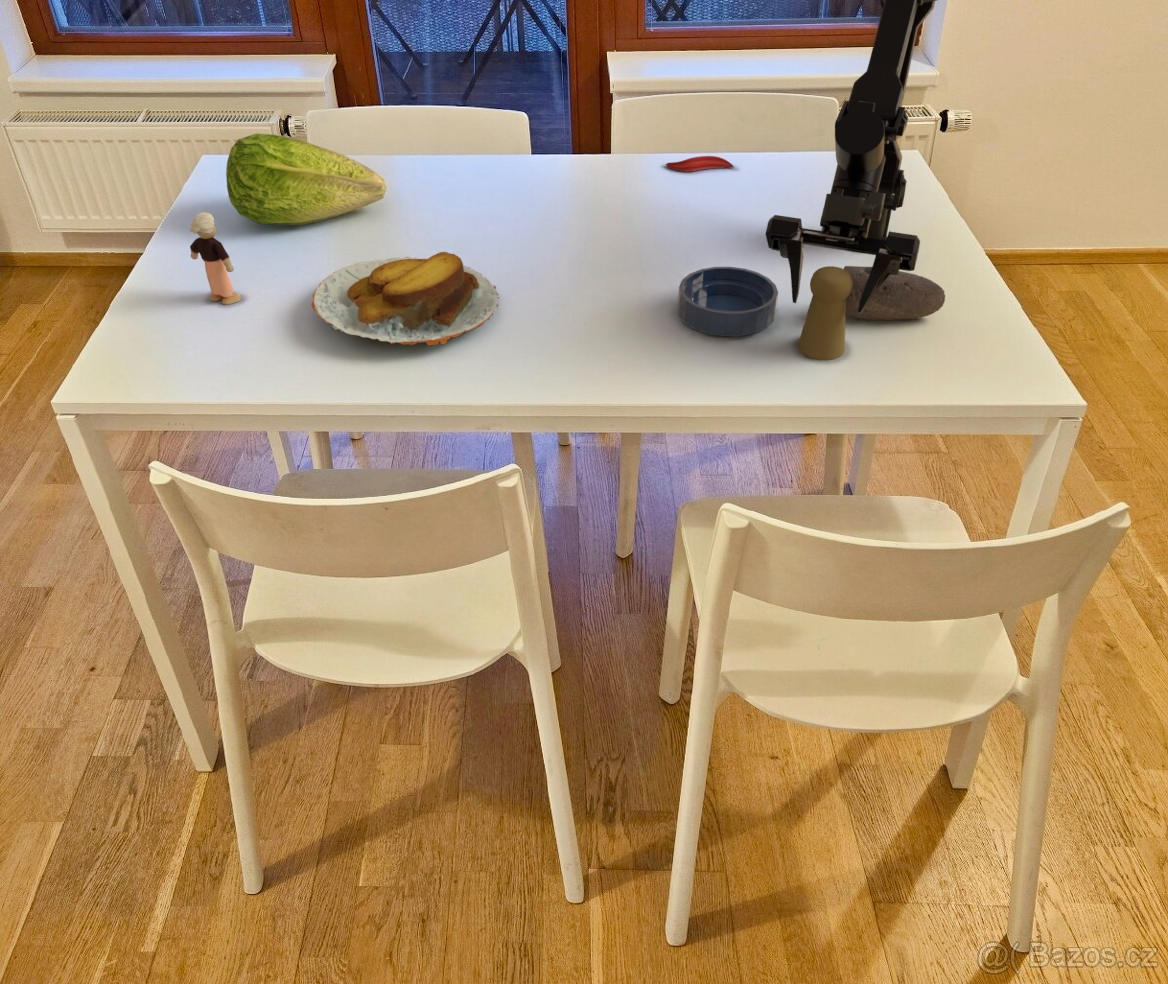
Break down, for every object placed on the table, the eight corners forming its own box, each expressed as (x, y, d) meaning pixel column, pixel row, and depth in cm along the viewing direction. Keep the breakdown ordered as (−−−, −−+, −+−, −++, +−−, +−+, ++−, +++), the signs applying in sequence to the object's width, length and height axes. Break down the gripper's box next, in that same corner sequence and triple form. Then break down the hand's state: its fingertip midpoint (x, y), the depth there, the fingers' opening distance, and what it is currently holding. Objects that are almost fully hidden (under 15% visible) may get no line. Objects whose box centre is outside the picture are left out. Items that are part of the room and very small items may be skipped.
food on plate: (336, 269, 153) (329, 228, 149) (503, 269, 153) (501, 227, 148) (298, 360, 133) (289, 315, 129) (491, 360, 133) (488, 315, 129)
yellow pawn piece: (844, 362, 132) (858, 284, 125) (796, 357, 133) (807, 280, 126) (844, 338, 136) (858, 262, 130) (798, 333, 137) (809, 258, 130)
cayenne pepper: (663, 169, 181) (664, 159, 180) (667, 159, 184) (667, 149, 183) (732, 174, 179) (733, 163, 178) (734, 164, 182) (735, 153, 181)
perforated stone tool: (937, 310, 142) (948, 264, 138) (943, 330, 138) (954, 283, 134) (827, 304, 144) (834, 258, 139) (829, 323, 140) (837, 276, 135)
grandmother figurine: (253, 295, 147) (233, 211, 139) (238, 308, 144) (217, 223, 136) (207, 287, 149) (185, 204, 141) (191, 299, 146) (168, 215, 138)
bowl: (747, 285, 148) (750, 260, 145) (791, 329, 138) (795, 303, 136) (663, 301, 145) (664, 275, 142) (701, 347, 135) (704, 320, 132)
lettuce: (384, 241, 162) (385, 151, 156) (222, 229, 158) (217, 137, 152) (387, 220, 175) (388, 136, 169) (238, 209, 171) (234, 122, 165)
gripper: (777, 152, 125) (747, 274, 124) (935, 172, 120) (905, 300, 119) (783, 189, 136) (755, 302, 135) (928, 210, 131) (901, 327, 130)
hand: (826, 307), depth 129 cm, fingers open, 8 cm apart
